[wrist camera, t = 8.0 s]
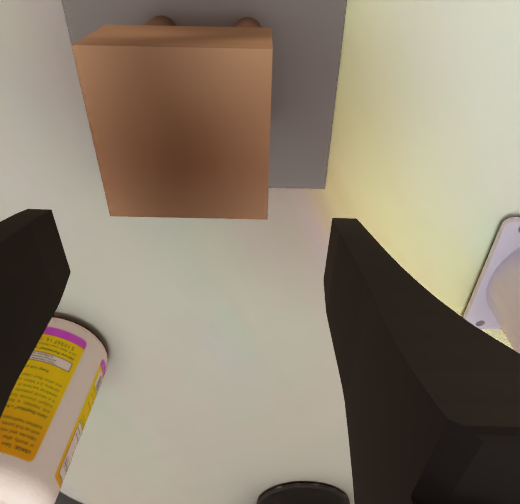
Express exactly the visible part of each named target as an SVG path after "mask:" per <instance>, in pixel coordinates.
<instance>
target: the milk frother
mask: <svg viewBox="0 0 520 504" xmlns="http://www.w3.org/2000/svg"><path fill="white" fill-rule="evenodd" d="M257 504H350V502H349V499H348V497H347V496H346V495H345V494H344V493H343V492H341V491H339V490H338V489H336V488H334V487H330V486H328V485H323V484H317V483H292V484H286V485H282V486H278V487H275V488H273V489H271V490H269V491H267V492H265V493H264V494H263V495H261V497H260V498H259V499H258V502H257Z"/></svg>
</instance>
